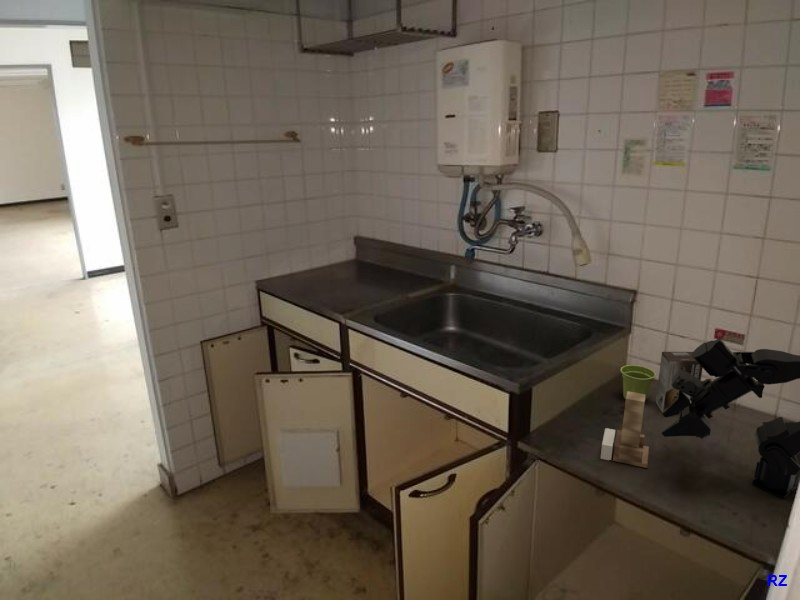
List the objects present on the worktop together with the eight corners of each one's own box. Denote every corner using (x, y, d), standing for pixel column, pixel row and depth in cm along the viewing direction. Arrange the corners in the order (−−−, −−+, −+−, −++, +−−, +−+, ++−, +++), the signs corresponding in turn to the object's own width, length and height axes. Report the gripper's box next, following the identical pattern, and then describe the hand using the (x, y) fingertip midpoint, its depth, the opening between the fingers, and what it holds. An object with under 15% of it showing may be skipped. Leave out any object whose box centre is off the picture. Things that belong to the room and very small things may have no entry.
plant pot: (635, 388, 168) (638, 362, 165) (659, 402, 160) (663, 375, 157) (610, 394, 165) (613, 368, 162) (633, 408, 157) (637, 381, 154)
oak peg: (638, 449, 136) (645, 394, 131) (637, 457, 132) (644, 401, 128) (621, 445, 138) (627, 391, 133) (619, 453, 134) (625, 398, 129)
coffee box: (687, 402, 159) (695, 351, 154) (696, 414, 153) (705, 360, 148) (654, 401, 160) (661, 350, 155) (662, 413, 154) (669, 360, 149)
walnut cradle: (648, 450, 137) (650, 436, 136) (647, 468, 130) (649, 453, 129) (615, 443, 140) (617, 429, 139) (612, 460, 133) (614, 446, 132)
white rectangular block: (613, 443, 140) (615, 430, 139) (610, 460, 133) (612, 446, 132) (603, 441, 141) (605, 428, 140) (600, 458, 134) (602, 444, 133)
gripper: (696, 347, 130) (641, 382, 138) (699, 380, 114) (637, 417, 122) (730, 382, 129) (672, 416, 137) (738, 421, 113) (672, 456, 121)
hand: (663, 424), depth 130 cm, fingers open, 9 cm apart
